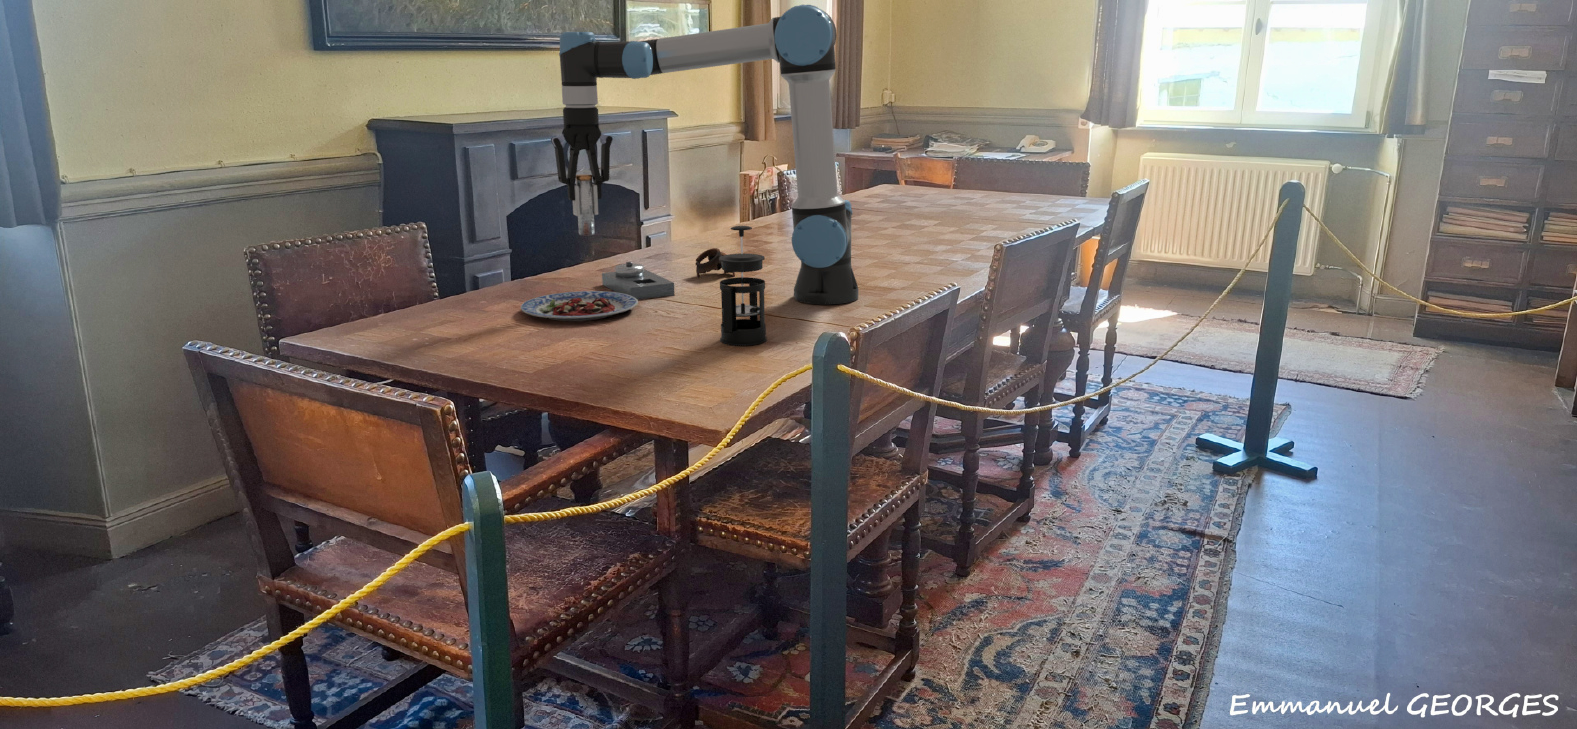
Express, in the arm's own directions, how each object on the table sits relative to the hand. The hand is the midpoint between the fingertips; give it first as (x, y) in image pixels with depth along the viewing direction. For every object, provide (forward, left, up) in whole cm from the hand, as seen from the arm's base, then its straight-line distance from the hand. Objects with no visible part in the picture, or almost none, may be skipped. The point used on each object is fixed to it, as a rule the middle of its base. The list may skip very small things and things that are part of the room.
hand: (585, 214), depth 241 cm
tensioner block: (+12, -16, -21) cm, 29 cm away
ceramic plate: (-3, +4, -22) cm, 22 cm away
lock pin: (0, 0, -4) cm, 4 cm away
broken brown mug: (+18, -39, -21) cm, 48 cm away
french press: (-44, -17, -21) cm, 52 cm away
